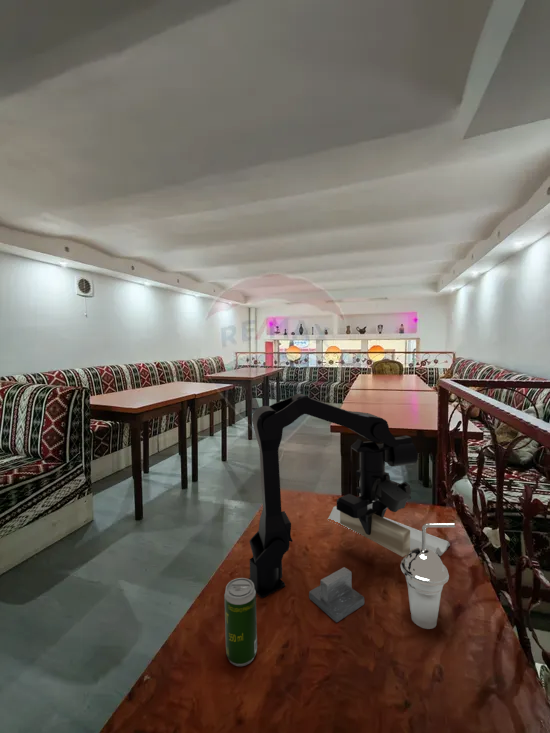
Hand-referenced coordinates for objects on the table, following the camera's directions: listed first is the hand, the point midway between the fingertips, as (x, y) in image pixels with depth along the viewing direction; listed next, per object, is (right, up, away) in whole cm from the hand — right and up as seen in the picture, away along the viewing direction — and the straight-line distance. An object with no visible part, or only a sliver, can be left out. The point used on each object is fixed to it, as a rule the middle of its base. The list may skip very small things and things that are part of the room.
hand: (372, 532), depth 82 cm
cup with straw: (+6, -10, -16) cm, 19 cm away
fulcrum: (-10, -9, -11) cm, 18 cm away
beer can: (-29, -11, -22) cm, 38 cm away
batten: (0, -1, 0) cm, 1 cm away
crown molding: (+8, -8, +16) cm, 19 cm away
